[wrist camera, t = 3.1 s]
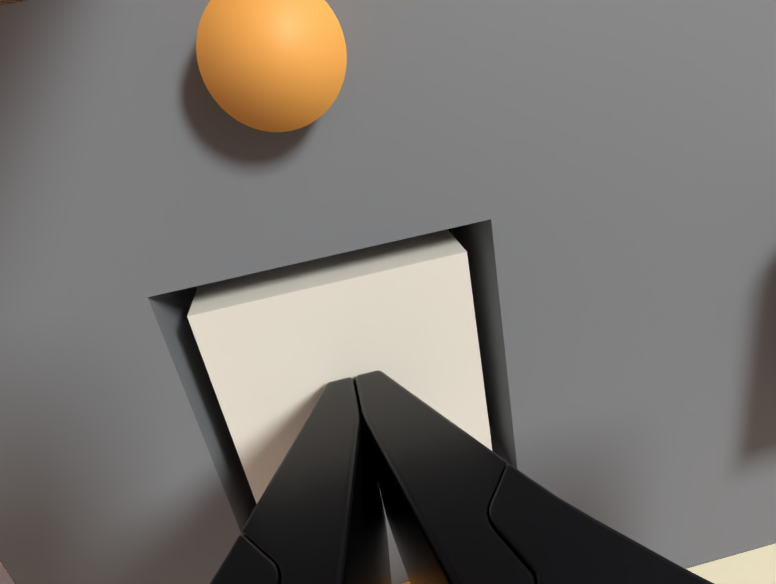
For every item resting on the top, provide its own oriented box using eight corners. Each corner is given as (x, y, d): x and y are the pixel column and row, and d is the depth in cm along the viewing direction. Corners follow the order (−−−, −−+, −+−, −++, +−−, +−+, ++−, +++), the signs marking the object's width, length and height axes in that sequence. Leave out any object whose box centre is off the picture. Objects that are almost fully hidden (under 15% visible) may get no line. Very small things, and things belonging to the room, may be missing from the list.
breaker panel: (993, 384, 15) (1157, 463, 12) (142, 612, 13) (104, 767, 10) (1180, -192, 10) (1540, -288, 7) (-158, 59, 8) (-391, 68, 5)
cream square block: (456, 389, 12) (494, 465, 10) (268, 436, 12) (264, 526, 10) (428, 207, 10) (466, 252, 8) (208, 257, 10) (187, 316, 8)
